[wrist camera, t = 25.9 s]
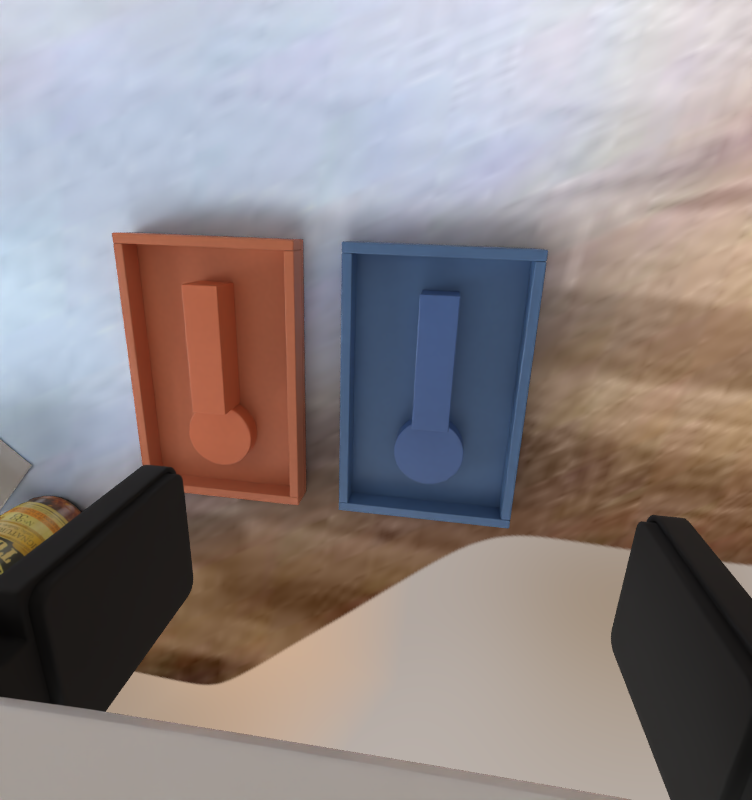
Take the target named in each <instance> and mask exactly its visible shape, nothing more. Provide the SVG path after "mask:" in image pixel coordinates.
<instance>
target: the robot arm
mask: <svg viewBox="0 0 752 800" xmlns="http://www.w3.org/2000/svg"><path fill="white" fill-rule="evenodd" d="M192 585H193V570H192V561H191V551H190V542H189V532H188V523H187V513H186V504H185V495H184V485H183V479H182V477H181V476H180V475H179V474H176V472H175V470H174V469H173V468H172V467H166V466H156V465H143V466H141V467H140V468H139V469H138V470H136V471H135V472H134V473H132V474H131V475H130V476H128V477H127V478H126V479H124V480H123V481H122V482H121V483H119V484H118V485H117V486H115V487H114V488H113V489H111V490H110V491H109V492H108V493H106V494H105V495H104V496H102V497H101V498H100V499H98V500H97V501H96V502H94V503H93V504H92V505H91V506H89V507H88V508H87V509H85V510H84V511H83V512H81V513H80V514H79V515H78V516H76V517H75V518H74V519H72V520H71V521H70V522H68V523H67V524H66V525H65V526H63V527H62V528H61V529H59V530H58V531H57V532H55V533H54V534H53V535H51V536H50V537H49V538H48V539H46V540H45V541H44V542H42V543H41V544H40V545H38V546H37V547H36V548H35V549H33V550H32V551H31V552H29V553H28V554H27V555H25V556H24V557H23V558H21V559H20V560H19V561H18V562H16V563H15V564H14V565H12V566H11V567H10V568H8V569H7V570H6V571H5V572H3V573H2V574H1V575H0V800H630V799H624V798H619V797H614V796H607V795H602V794H596V793H591V792H585V791H579V790H573V789H567V788H562V787H556V786H550V785H544V784H538V783H533V782H527V781H521V780H515V779H509V778H504V777H497V776H492V775H486V774H480V773H474V772H469V771H463V770H457V769H451V768H445V767H440V766H434V765H428V764H422V763H416V762H410V761H404V760H397V759H392V758H385V757H380V756H374V755H368V754H362V753H356V752H350V751H344V750H338V749H332V748H326V747H320V746H313V745H308V744H302V743H295V742H289V741H283V740H277V739H271V738H265V737H259V736H253V735H247V734H240V733H235V732H228V731H222V730H215V729H210V728H203V727H197V726H190V725H185V724H178V723H171V722H165V721H159V720H153V719H147V718H141V717H133V716H128V715H121V714H115V713H109V712H106V710H107V709H108V707H109V706H110V705H111V703H112V702H113V700H114V699H115V698H116V696H117V695H118V693H119V692H120V691H121V689H122V688H123V686H124V685H125V684H126V682H127V681H128V679H129V678H130V676H131V675H132V674H133V672H134V671H135V670H136V668H137V667H138V665H139V664H140V663H141V661H142V660H143V658H144V657H145V656H146V654H147V653H148V651H149V650H150V649H151V647H152V646H153V644H154V643H155V642H156V640H157V639H158V637H159V636H160V635H161V633H162V632H163V630H164V629H165V628H166V626H167V625H168V623H169V622H170V621H171V619H172V618H173V616H174V615H175V614H176V612H177V611H178V609H179V608H180V607H181V605H182V604H183V602H184V601H185V600H186V598H187V597H188V595H189V593H190V591H191V589H192ZM611 644H612V649H613V652H614V655H615V658H616V660H617V663H618V665H619V668H620V670H621V673H622V676H623V678H624V681H625V683H626V686H627V689H628V691H629V694H630V696H631V699H632V702H633V704H634V707H635V709H636V712H637V714H638V717H639V720H640V722H641V725H642V727H643V730H644V732H645V735H646V738H647V740H648V743H649V745H650V748H651V751H652V753H653V755H654V758H655V761H656V763H657V766H658V769H659V771H660V774H661V776H662V779H663V782H664V784H665V787H666V789H667V792H668V794H669V797H670V799H671V800H752V598H751V597H750V596H749V595H748V593H747V592H746V591H745V590H744V588H743V587H742V586H741V585H740V584H739V582H738V581H737V580H736V579H735V577H734V576H733V575H732V574H731V572H730V571H729V570H728V569H727V568H726V566H725V565H724V564H723V563H722V562H721V560H720V559H719V558H718V557H717V555H716V554H715V553H714V552H713V551H712V549H711V548H710V547H709V546H708V544H707V543H706V542H705V541H704V540H703V538H702V537H701V536H700V535H699V534H698V532H697V531H696V530H695V529H694V527H693V526H692V525H691V524H690V523H689V521H687V520H686V519H685V518H677V517H667V516H657V515H652V516H650V517H649V518H648V520H647V522H642V521H641V522H639V524H638V525H637V528H636V532H635V536H634V540H633V544H632V548H631V552H630V557H629V561H628V565H627V569H626V573H625V578H624V582H623V585H622V590H621V594H620V599H619V602H618V606H617V610H616V615H615V619H614V623H613V627H612V632H611Z"/></svg>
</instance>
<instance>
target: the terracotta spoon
mask: <svg viewBox="0 0 752 800" xmlns="http://www.w3.org/2000/svg"><path fill="white" fill-rule="evenodd" d="M181 286H182V297H183V308H184V319H185V330H186V341H187V352H188V363H189V374H190V385H191V396H192V407H193V412H195V413H194V415H193V416H192V418H191V421H190V425H189V435H190V439H191V442H192V444H193V446H194V448H195V449H196V450H197V452H198V453H199V454H200V455H201V456H203V457H204V458H205V459H207V460H209V461H210V462H213V463H216V464H221V465H230V464H234V463H237V462H239V461H240V460H242V459H243V458H244V457H245V456H246V455H247V454H248V453H249V452H250V451H251V450H252V448H253V447H254V445H255V442H256V439H257V428H256V424H255V421H254V419H253V417H252V416H251V414H250V413H249V412H248V411H247V410H246V409H245V408H244V407H243V406H241V405H240V404H239V403H240V389H239V371H238V354H237V336H236V319H235V301H234V284H233V282H220V281H196V282H190V283H185V284H182V285H181Z"/></svg>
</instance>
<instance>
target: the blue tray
mask: <svg viewBox="0 0 752 800" xmlns="http://www.w3.org/2000/svg"><path fill="white" fill-rule="evenodd" d="M547 256H548V250H545V249H535V248H510V247H484V246H459V245H434V244H409V243H383V242H358V241H346V242H342V284H341V372H340V461H339V510H346V511H355V512H364V513H373V514H382V515H391V516H401V517H410V518H419V519H428V520H437V521H446V522H455V523H464V524H473V525H482V526H491V527H500V528H509V525H510V517H511V510H512V503H513V496H514V489H515V482H516V475H517V468H518V461H519V454H520V447H521V440H522V433H523V426H524V418H525V411H526V404H527V397H528V390H529V383H530V376H531V369H532V362H533V355H534V348H535V341H536V334H537V327H538V320H539V313H540V305H541V298H542V291H543V284H544V277H545V270H546V262H545V261H547ZM422 290H440V291H459V292H460V307H459V318H458V329H457V340H456V352H455V363H454V374H453V385H452V396H451V408H450V419H449V421H450V422H452V423H453V424H454V425H455V426H456V428H457V429H458V430H459V432H460V434H461V436H462V440H463V450H464V455H463V461H462V464H461V466H460V468H459V469H458V471H457V472H456V473H455V474H454V475H453V476H452V477H451V478H449V479H447V480H445V481H443V482H440V483H435V484H425V483H420V482H417V481H414V480H412V479H410V478H409V477H407V476H406V475H405V474H404V473H403V472H402V471H401V470H400V468H399V467H398V465H397V463H396V460H395V457H394V445H395V442H396V438H397V435H398V432H399V430H400V429H401V427H402V426H403V425H404V424H405V423H406V422H407V421H409V420H410V419H412V412H413V396H414V380H415V364H416V349H417V333H418V317H419V301H420V294H421V292H422Z"/></svg>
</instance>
